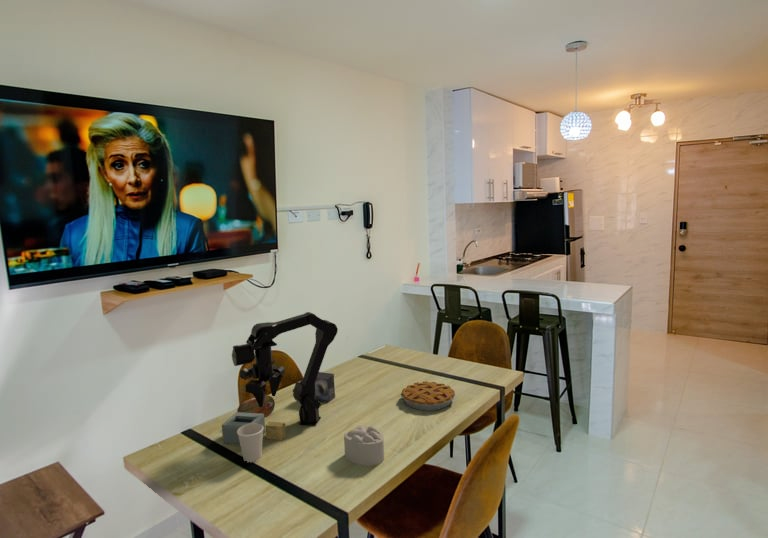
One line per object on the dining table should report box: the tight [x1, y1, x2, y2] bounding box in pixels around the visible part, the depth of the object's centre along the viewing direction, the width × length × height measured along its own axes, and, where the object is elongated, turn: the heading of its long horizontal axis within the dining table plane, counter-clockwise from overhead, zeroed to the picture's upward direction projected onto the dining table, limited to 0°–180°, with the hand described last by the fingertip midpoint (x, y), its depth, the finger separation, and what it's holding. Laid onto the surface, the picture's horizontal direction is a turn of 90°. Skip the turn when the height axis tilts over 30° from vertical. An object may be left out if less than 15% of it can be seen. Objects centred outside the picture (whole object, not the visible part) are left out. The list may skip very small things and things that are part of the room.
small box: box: [314, 371, 336, 403], centre depth 199 cm, size 11×6×10 cm, turn 68°
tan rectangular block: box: [265, 421, 287, 441], centre depth 168 cm, size 6×3×5 cm, turn 78°
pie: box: [400, 381, 456, 412], centre depth 193 cm, size 22×22×5 cm
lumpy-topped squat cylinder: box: [343, 425, 385, 467], centre depth 153 cm, size 10×13×9 cm
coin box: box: [221, 411, 266, 446], centre depth 168 cm, size 11×10×7 cm
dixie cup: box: [237, 423, 264, 463], centre depth 154 cm, size 8×8×10 cm
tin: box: [236, 394, 276, 418], centre depth 183 cm, size 15×3×8 cm, turn 134°
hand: (267, 401), depth 169 cm, fingers open, 9 cm apart
